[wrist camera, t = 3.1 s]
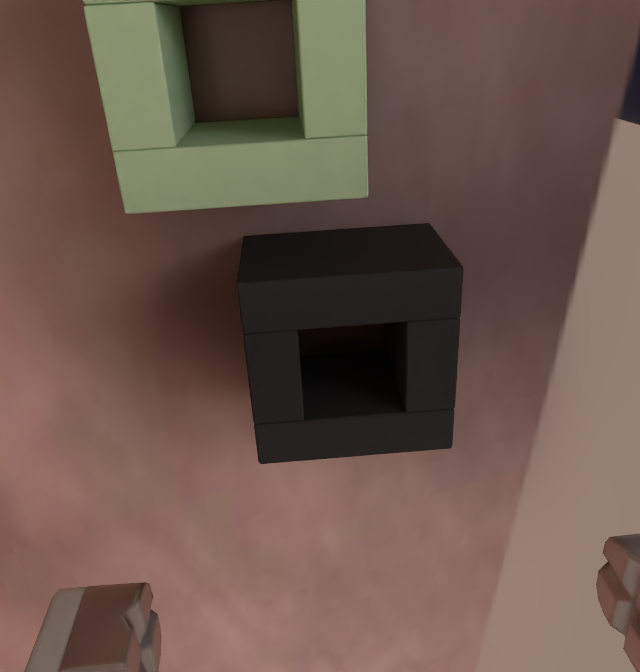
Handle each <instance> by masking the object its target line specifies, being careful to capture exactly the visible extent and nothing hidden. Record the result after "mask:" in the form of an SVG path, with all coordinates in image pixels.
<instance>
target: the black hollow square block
mask: <svg viewBox="0 0 640 672" xmlns="http://www.w3.org/2000/svg"><path fill="white" fill-rule="evenodd" d="M462 283H463V266H462V265H461V264H460V263H459V261H458V260H457V259H456V257H455V256H454V255H453V253H452V252H451V251H450V249H449V248H448V247H447V246H446V244H445V243H444V242H443V240H442V239H441V238H440V236H439V235H438V234H437V233H436V231H435V230H434V229H433V227H432V226H431V225H430V224H429V223H427V224H412V225H398V226H384V227H369V228H355V229H341V230H326V231H312V232H298V233H283V234H269V235H255V236H244V238H243V244H242V251H241V258H240V265H239V272H238V279H237V292H238V300H239V308H240V316H241V324H242V332H243V340H244V348H245V356H246V364H247V372H248V380H249V389H250V397H251V405H252V413H253V421H254V429H255V437H256V445H257V453H258V461H259V463H260V464H267V463H279V462H291V461H303V460H315V459H327V458H339V457H351V456H363V455H375V454H387V453H400V452H412V451H424V450H436V449H448V448H452V442H453V426H454V408H455V397H456V381H457V364H458V348H459V331H460V318H459V317H460V316H461V299H462ZM380 323H384V349H385V350H377V351H364V352H351V353H338V354H325V355H312V356H300V353H299V340H298V330H300V329H314V328H327V327H340V326H354V325H367V324H380Z"/></svg>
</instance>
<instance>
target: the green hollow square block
mask: <svg viewBox="0 0 640 672" xmlns="http://www.w3.org/2000/svg"><path fill="white" fill-rule="evenodd" d="M82 1H83V3H84V4H85V5H86V6H84V8H83V10H84V15H85V20H86V25H87V30H88V35H89V40H90V45H91V50H92V54H93V59H94V64H95V69H96V74H97V79H98V84H99V89H100V94H101V99H102V104H103V109H104V114H105V119H106V124H107V129H108V134H109V138H110V143H111V148H112V150H113V151H114V152H113V158H114V163H115V168H116V173H117V178H118V183H119V188H120V193H121V198H122V203H123V207H124V212H125V214H136V213H151V212H166V211H180V210H195V209H210V208H225V207H239V206H254V205H269V204H283V203H298V202H313V201H327V200H342V199H357V198H367V197H368V138H367V136H366V134H367V70H366V3H365V0H292V2H291V4H292V20H293V35H294V51H295V67H296V82H297V98H298V114H299V116H298V117H283V118H267V119H251V120H235V121H219V122H203V123H195V114H194V107H193V100H192V93H191V85H190V78H189V71H188V64H187V57H186V49H185V42H184V35H183V28H182V20H181V13H180V8H179V6H185V5H202V4H220V3H238V2H255V1H273V0H82Z"/></svg>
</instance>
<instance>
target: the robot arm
mask: <svg viewBox="0 0 640 672" xmlns="http://www.w3.org/2000/svg"><path fill="white" fill-rule="evenodd" d="M603 554H604V556H605V557H606V558H607V560H608V562H607V563H606V564H605V565H604V566H603V567H602V568H601V569H600V570H599V571H598V577H597V583H596V585H597V593H598V599H599V602H600V605H601V608H602V611H603V613H604V615H605V617H606V619H607V620H608V622H609V624H610V626H612V627H613V628H615V629H616V630H618V631H619V632H620V633H622V634H623V635H625V643H624V648H623V649H624V651H625V652H626V654H627V656H628V657H629V659H630V661H631V662H632V664H633V666H634V668H635V670H636V671H637V672H640V534H634V535H624V536H615V537H610V538H609V539H608V540H607V541H606V542H605V546H604V550H603ZM152 600H153V594H152V591H151V587H150V584H149V583H146V582H144V583H130V584H115V585H101V586H89V587H78V588H65V589H59V590H58V591H57V592H56V594H55V595H54V596H53V598H52V600H51V602H50V605H49V608H48V610H47V613H46V616H45V618H44V621H43V624H42V626H41V629H40V632H39V634H38V637H37V640H36V642H35V645H34V647H33V650H32V653H31V655H30V658H29V661H28V663H27V666H26V669H25V671H24V672H158V669H159V662H160V656H161V629H160V622H159V618H158V614H157V613H156V612H154V611H153V610H151V605H152Z"/></svg>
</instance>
